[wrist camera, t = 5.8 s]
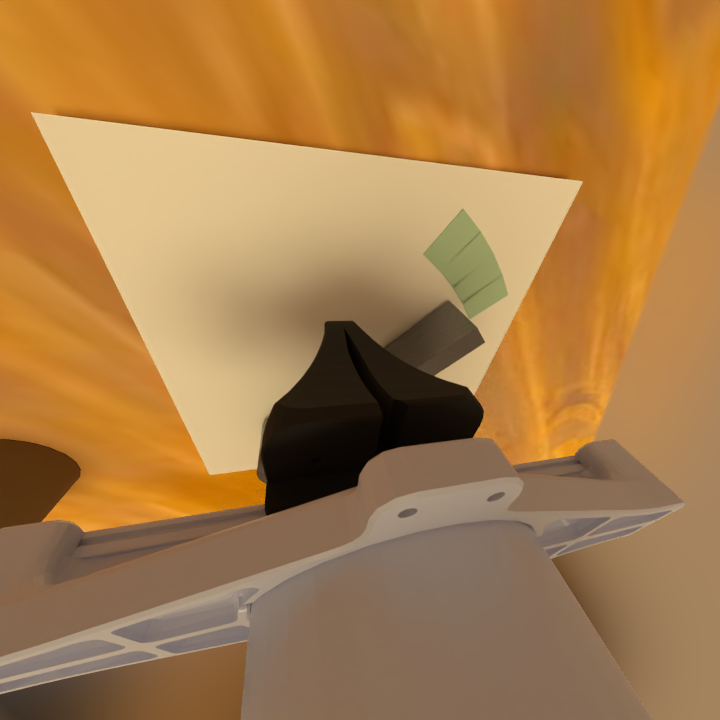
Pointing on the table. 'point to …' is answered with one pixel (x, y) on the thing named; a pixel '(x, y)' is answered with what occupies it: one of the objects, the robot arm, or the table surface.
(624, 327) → the table surface
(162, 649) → the robot arm
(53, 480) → the cork
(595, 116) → the table surface
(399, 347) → the pointer
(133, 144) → the dial board
